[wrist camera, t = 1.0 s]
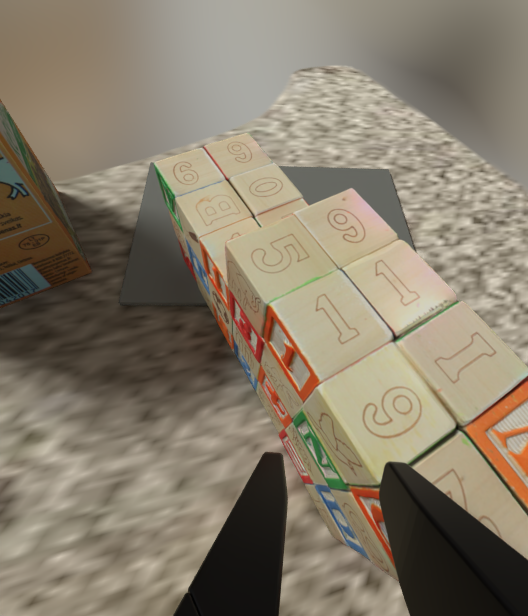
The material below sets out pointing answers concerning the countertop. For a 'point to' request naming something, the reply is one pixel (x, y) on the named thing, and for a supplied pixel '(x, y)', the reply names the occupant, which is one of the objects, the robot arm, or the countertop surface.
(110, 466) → the countertop surface
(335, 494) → the stack of blocks
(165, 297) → the mat
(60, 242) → the milk carton
